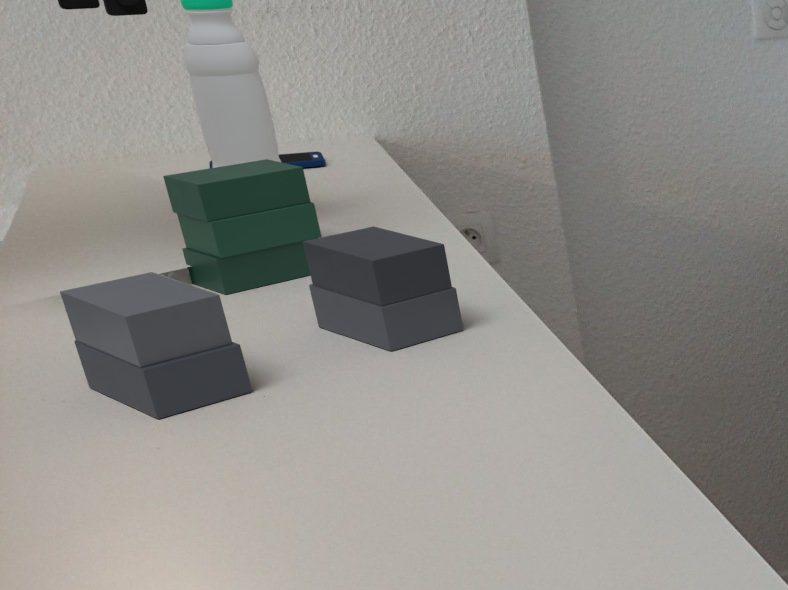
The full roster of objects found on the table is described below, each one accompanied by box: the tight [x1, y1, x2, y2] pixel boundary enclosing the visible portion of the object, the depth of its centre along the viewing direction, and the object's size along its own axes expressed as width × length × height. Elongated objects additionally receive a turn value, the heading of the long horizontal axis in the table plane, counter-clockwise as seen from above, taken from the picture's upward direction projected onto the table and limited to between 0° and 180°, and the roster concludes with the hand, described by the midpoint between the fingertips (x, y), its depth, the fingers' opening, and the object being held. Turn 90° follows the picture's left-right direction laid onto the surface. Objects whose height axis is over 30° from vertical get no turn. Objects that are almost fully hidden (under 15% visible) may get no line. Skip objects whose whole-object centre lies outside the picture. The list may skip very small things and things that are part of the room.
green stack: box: [176, 201, 323, 295], centre depth 124 cm, size 10×7×7 cm, turn 144°
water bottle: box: [180, 0, 281, 168], centre depth 138 cm, size 7×7×25 cm
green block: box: [162, 159, 312, 222], centre depth 122 cm, size 10×6×3 cm, turn 144°
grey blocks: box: [59, 226, 464, 420], centre depth 103 cm, size 26×11×8 cm, turn 144°
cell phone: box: [208, 151, 326, 169], centre depth 173 cm, size 7×14×1 cm, turn 118°
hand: (103, 11), depth 115 cm, fingers open, 9 cm apart
